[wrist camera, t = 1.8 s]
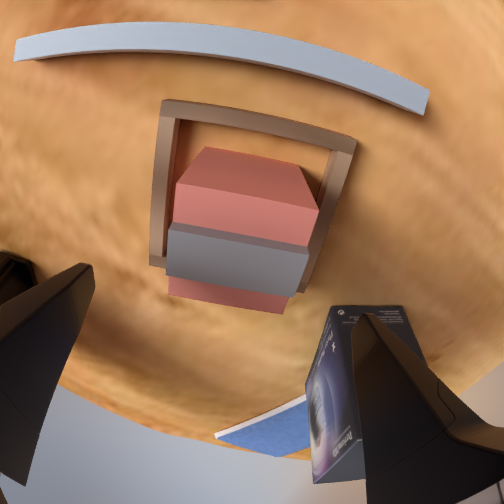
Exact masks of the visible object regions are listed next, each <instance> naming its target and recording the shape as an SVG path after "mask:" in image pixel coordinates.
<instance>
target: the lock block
mask: <svg viewBox="0 0 504 504" xmlns="http://www.w3.org/2000/svg"><path fill="white" fill-rule="evenodd" d="M318 213H319V209H318V207H317V205H316V202H315V200H314V198H313V196H312V193H311V191H310V189H309V187H308V185H307V182H306V180H305V178H304V176H303V174H302V172H301V170H300V168H299V165H296V164H292V163H288V162H283V161H279V160H274V159H270V158H265V157H260V156H255V155H250V154H245V153H240V152H234V151H229V150H223V149H218V148H212V147H204V148H203V149H202V151H201V152H200V153H199V154H198V156H197V157H196V158H195V159H194V161H193V162H192V163H191V164H190V166H189V167H188V168H187V170H186V171H185V172H184V174H183V175H182V176H181V177H180V179H179V180H178V181H177V183H176V191H175V201H174V212H173V222H172V224H171V226H170V227H169V229H168V243H167V260H166V275H167V276H169V288H168V294H169V295H174V296H179V297H184V298H189V299H194V300H199V301H205V302H210V303H216V304H222V305H227V306H233V307H239V308H245V309H251V310H257V311H264V312H270V313H277V314H283V312H284V309H285V307H286V304H287V301H288V299H289V297H292V298H294V296H295V293H296V291H297V288H298V285H299V283H300V280H301V277H302V275H303V272H304V269H305V266H306V264H307V261H308V258H309V252H308V248H307V246H308V243H309V240H310V237H311V234H312V231H313V228H314V225H315V222H316V219H317V216H318Z"/></svg>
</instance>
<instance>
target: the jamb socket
mask: <svg viewBox="0 0 504 504" xmlns="http://www.w3.org/2000/svg"><path fill="white" fill-rule="evenodd" d="M181 119H188V120H195V121H202V122H209V123H215V124H221V125H227V126H233V127H238V128H244V129H249V130H254V131H259V132H264V133H268V134H273V135H277V136H282V137H286V138H290V139H295V140H299V141H303V142H307V143H311V144H314V145H318V146H322V147H326V148H329V149H332V150H331V153H330V157H329V160H328V163H327V167H326V170H325V173H324V177H323V180H322V183H321V186H320V190H319V193H318V196H317V199H316V205H317V207H318V209H319V213H318V216H317V219H316V222H315V225H314V228H313V231H312V234H311V237H310V240H309V243H308V246H307V248H308V252H309V258H308V261H307V264H306V266H305V269H304V272H303V275H302V277H301V280H300V283H299V285H298V288H297V291H296V292H300V293H304V292H305V289H306V287H307V284H308V282H309V279H310V276H311V274H312V271H313V269H314V266H315V263H316V261H317V258H318V256H319V253H320V250H321V248H322V245H323V242H324V239H325V237H326V234H327V231H328V228H329V225H330V223H331V220H332V217H333V214H334V211H335V208H336V205H337V203H338V200H339V197H340V194H341V191H342V188H343V185H344V182H345V179H346V176H347V172H348V169H349V166H350V163H351V160H352V157H353V153H354V150H355V147H356V144H357V140H356V139H354V138H352V137H351V136H348V135H345V134H341V133H338V132H335V131H331V130H328V129H324V128H321V127H317V126H313V125H310V124H306V123H302V122H298V121H294V120H290V119H286V118H281V117H277V116H273V115H268V114H263V113H258V112H253V111H248V110H243V109H237V108H232V107H226V106H220V105H213V104H206V103H199V102H191V101H183V100H174V99H166V100H162V102H161V109H160V116H159V124H158V132H157V140H156V150H155V159H154V170H153V183H152V197H151V214H150V241H149V265H150V266H155V267H160V268H165V269H166V260H167V239H168V225H169V213H170V201H171V191H172V181H173V172H174V164H175V156H176V148H177V140H178V133H179V126H180V120H181Z"/></svg>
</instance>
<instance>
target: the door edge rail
mask: <svg viewBox="0 0 504 504" xmlns="http://www.w3.org/2000/svg"><path fill="white" fill-rule="evenodd" d="M109 52H155V53H174V54H187V55H198V56H207V57H215V58H223V59H229V60H236V61H242V62H248V63H253V64H259V65H264V66H268V67H273V68H278V69H282V70H286V71H291V72H295V73H299V74H302V75H306V76H310V77H313V78H317V79H320V80H324V81H327V82H331V83H334V84H337V85H340V86H343V87H346V88H349V89H352V90H355V91H358V92H361V93H363V94H366V95H369V96H371V97H374V98H377V99H379V100H382V101H384V102H387V103H389V104H392V105H394V106H396V107H399V108H401V109H403V110H406V111H409V112H413V113H416V114H420V115H424V112H425V108H426V104H427V101H428V97H429V93H430V90H428V89H426V88H424V87H422V86H420V85H418V84H416V83H414V82H412V81H410V80H408V79H406V78H404V77H401V76H399V75H397V74H395V73H392V72H390V71H388V70H385V69H383V68H381V67H378V66H376V65H373V64H371V63H368V62H365V61H363V60H360V59H357V58H355V57H352V56H349V55H346V54H343V53H340V52H337V51H334V50H331V49H328V48H324V47H321V46H318V45H314V44H310V43H307V42H303V41H299V40H295V39H291V38H287V37H283V36H278V35H273V34H268V33H263V32H258V31H252V30H246V29H240V28H233V27H226V26H217V25H208V24H196V23H180V22H126V23H110V24H99V25H89V26H82V27H74V28H68V29H62V30H56V31H51V32H46V33H41V34H37V35H33V36H29V37H25V38H21V39H17V41H16V47H15V53H14V60H13V62H18V61H31V60H39V59H45V58H52V57H59V56H68V55H78V54H90V53H109Z"/></svg>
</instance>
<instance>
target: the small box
mask: <svg viewBox="0 0 504 504" xmlns="http://www.w3.org/2000/svg"><path fill="white" fill-rule="evenodd" d="M362 313H372V314H374V315H376V316H377V317H378V318H379V319H380V320H381V321H382V322H383V323H384V324H385V325H386V326H387V327H388V328H389V329H390V330H391V331H392V332H393V333H394V334H395V335H396V336H397V337H398V338H399V339H400V340H401V341H402V342H403V343H404V344H405V345H406V346H407V347H408V348H409V349H410V350H411V351H412V352H413V353H414V354H415V355H416V356H417V357H418V358H419V359H420V360H421V361H422V362H423V363H424V364H425V365H426V366H427V367H428V365H427V363H426V361H425V358H424V356H423V353H422V351H421V348H420V346H419V344H418V341H417V339H416V337H415V335H414V332H413V330H412V327H411V325H410V322H409V320H408V318H407V315H406V313H405V311H404V308H403V307H402V306H393V307H388V306H387V307H366V306H333V307H331V308H330V311H329V314H328V317H327V321H326V324H325V327H324V330H323V333H322V337H321V340H320V343H319V346H318V349H317V352H316V355H315V358H314V360H313V363H312V366H311V369H310V372H309V375H308V378H307V380H306V383H305V389H306V400H307V409H308V422H309V431H310V445H311V458H312V475H313V484H319V483H332V482H342V481H352V480H359V479H366V477H365V464H364V453H363V443H362V434H361V425H360V417H359V409H358V402H357V395H356V388H355V381H354V374H353V357H352V340H351V333H352V329H353V327H354V326H355V324H356V322H357V320H358V319H359V317H360V315H361V314H362Z"/></svg>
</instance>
